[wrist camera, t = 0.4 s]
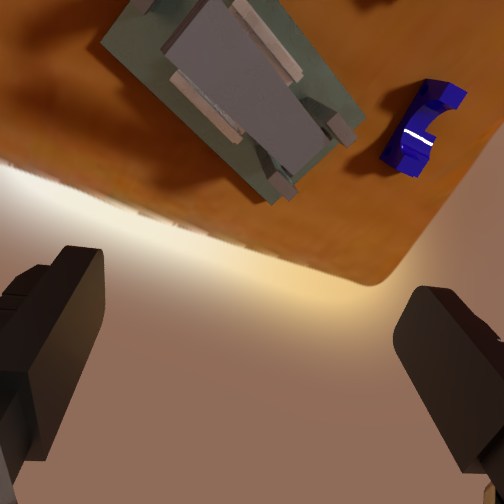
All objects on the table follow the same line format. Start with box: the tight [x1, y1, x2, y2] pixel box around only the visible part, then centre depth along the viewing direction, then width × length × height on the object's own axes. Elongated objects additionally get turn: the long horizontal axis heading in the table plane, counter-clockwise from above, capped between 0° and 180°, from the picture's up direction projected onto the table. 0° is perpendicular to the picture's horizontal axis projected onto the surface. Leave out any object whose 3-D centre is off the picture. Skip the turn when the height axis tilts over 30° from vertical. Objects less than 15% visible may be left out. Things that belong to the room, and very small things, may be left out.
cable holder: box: [379, 79, 467, 177], centre depth 34 cm, size 8×4×4 cm, turn 157°
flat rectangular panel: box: [160, 0, 333, 178], centre depth 22 cm, size 4×14×1 cm, turn 44°
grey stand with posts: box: [100, 0, 366, 206], centre depth 27 cm, size 12×20×10 cm, turn 44°
